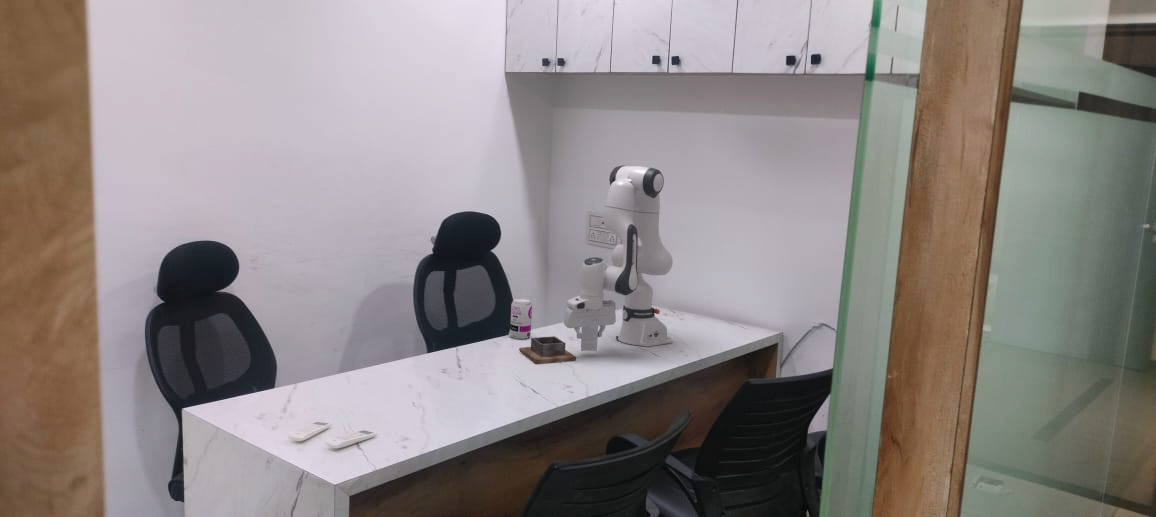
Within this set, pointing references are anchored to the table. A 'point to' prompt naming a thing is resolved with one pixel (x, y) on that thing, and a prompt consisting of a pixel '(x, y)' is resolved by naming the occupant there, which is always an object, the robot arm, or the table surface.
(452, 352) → the table surface
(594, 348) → the skincare box
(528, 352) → the bottle stand
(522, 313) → the supplement can
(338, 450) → the table surface
